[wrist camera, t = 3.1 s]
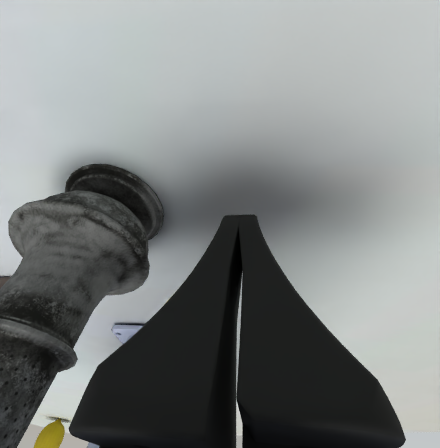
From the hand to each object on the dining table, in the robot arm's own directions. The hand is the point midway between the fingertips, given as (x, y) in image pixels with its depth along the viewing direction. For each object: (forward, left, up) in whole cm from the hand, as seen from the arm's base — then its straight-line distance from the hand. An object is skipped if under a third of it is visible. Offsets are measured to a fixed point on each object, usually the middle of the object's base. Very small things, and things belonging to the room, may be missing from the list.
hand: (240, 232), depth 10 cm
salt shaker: (0, +7, -2) cm, 7 cm away
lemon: (-64, +50, -2) cm, 81 cm away
